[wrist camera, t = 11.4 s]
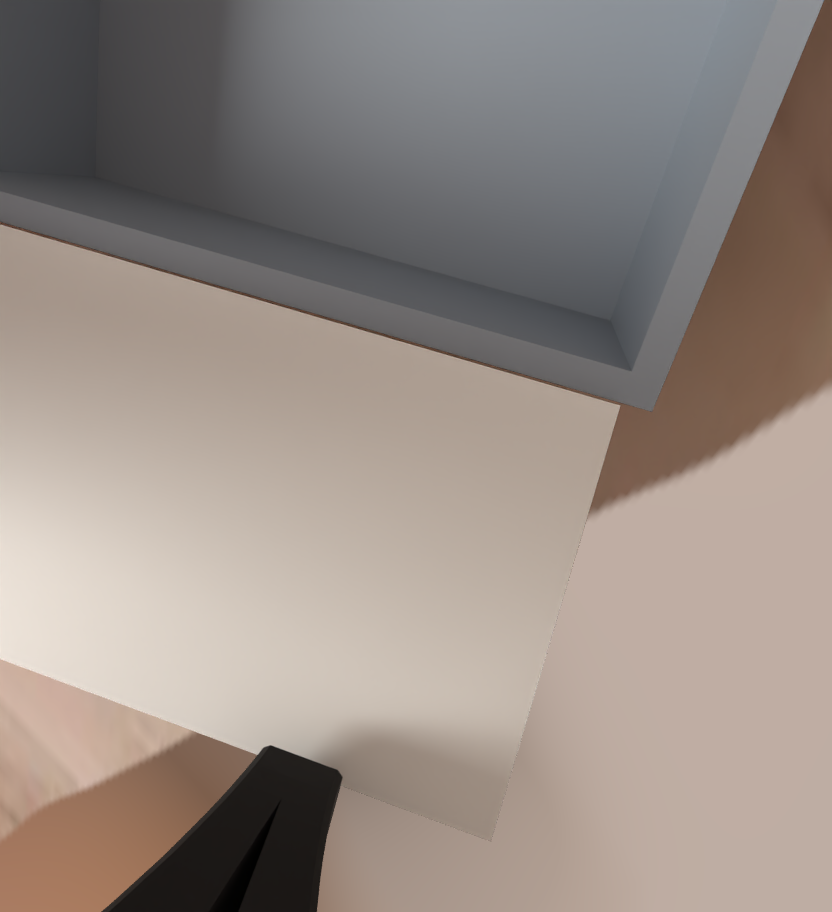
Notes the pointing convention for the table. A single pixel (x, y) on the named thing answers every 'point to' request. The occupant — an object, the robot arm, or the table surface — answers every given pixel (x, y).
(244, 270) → the carton
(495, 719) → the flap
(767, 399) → the table surface
